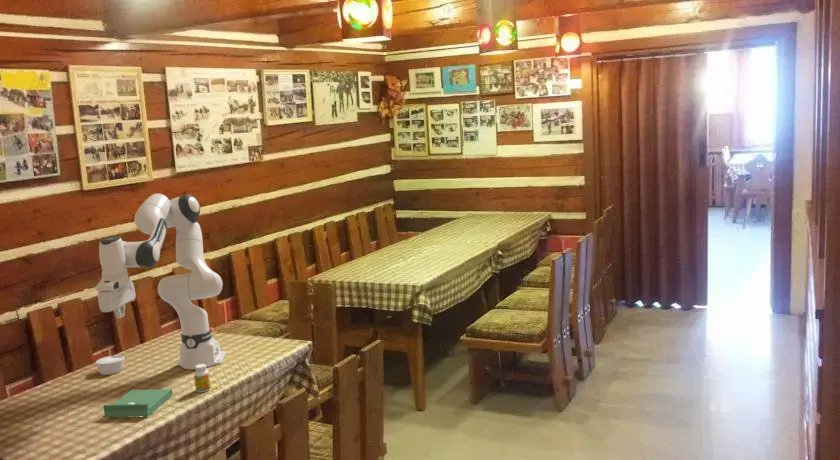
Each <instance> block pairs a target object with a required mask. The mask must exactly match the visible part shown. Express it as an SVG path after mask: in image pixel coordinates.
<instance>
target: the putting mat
mask: <svg viewBox="0 0 840 460" xmlns="http://www.w3.org/2000/svg"><path fill="white" fill-rule="evenodd" d="M172 395H174V394H173V389H171V388H169V389H168V388H167V389H166V388H165V389H163V388H161V389H130V390H129V391H128V392H127V393H126V394H124V395H123V396H122V397H120V398H119V399H118V400H117V401H115V402H114V403H113V404H103V413H104V418H106V417H127V418H132V417H131V416H134V417H133V418H136V417H135V416H138V417H137V418H140V417H139V416H143V417H142V418H148V417H147V416H149V415H150V414H151V413H152V412H153V411H154V412H156V411H157V410H158V409H159V408H160V407H161V406H162V405H164V404H165V403H166V402H167V401H168V400H170V399H171V398H172V397H173V396H172ZM171 396H172V397H171ZM165 401H166V402H165ZM131 402H132V403H135V404H128V403H131ZM164 402H165V403H164ZM163 403H164V404H163ZM161 404H162V405H161ZM160 405H161V406H160ZM159 406H160V407H159ZM158 407H159V408H158ZM157 408H158V409H157ZM156 409H157V410H156ZM155 410H156V411H155ZM154 412H153V413H154ZM153 413H152V414H153ZM152 414H151V415H152ZM151 415H150V416H151ZM129 416H130V417H129ZM150 416H149V417H150ZM106 419H107V418H106Z"/></svg>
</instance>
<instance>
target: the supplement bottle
mask: <svg viewBox="0 0 840 460" xmlns="http://www.w3.org/2000/svg"><path fill="white" fill-rule="evenodd" d="M194 370H195V371H194V372H193V373H194V374H193V376H194V383H195V384H194V385H195V391H196V392H197V393H205V392H209V391H210V390H211V383H210V382H211V380H210V371H209V369H207V367H206V365H205V364H199V365H196V366H195V369H194Z"/></svg>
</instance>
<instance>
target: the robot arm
mask: <svg viewBox="0 0 840 460" xmlns="http://www.w3.org/2000/svg"><path fill="white" fill-rule="evenodd" d="M200 211H201V204H200V202H199V200H198V199H197V198H196V197H195V196H194V195H192V194H184V195H182V194H181V196H178V197H174V198H172V199H169V198H168V197H167V196H166V195H165V194H162V193H153V194H151V195H150V196H148V197H147V198H146V199H145V200H144V201H143V202H142V204H141V205H140V206H139V208H138V209H137V210H136V212H135V215H134V224H135V226H136V228H138V230H139V231H140V232H142V233H143V234H146V235H149V238H148V239H147V240H146V239H145V240H142V241H125V240H123V239H122V237H121V236H116V235H113V236H107V237H104V238H103V239H101V240H100V241H99V246H98V248H99V249H98V253H99V254H98V256H99V262H100V265H101V279H100V281H99V282H98V283H97V284H96V286H95V290H96V292H97V301H98V306H99V311H101V312H102V313H110V312H114V314H115V319H119V320H120V319H123V318H124V317H125V316H126V315H125V310H126V304H128V303H130V302H131V301H133V300H135V299H136V296H137V295H136V289H135V284H134V282H133V281H132V279H131V277H130V276H129V272H128V271H129V270H128V268H145V269H146V268H148V269H149V268H150V269H151V268H153V267H155V266H156V265H157V264H158V263H159V261H160V257H161V250H162V248H163V244H164V242H165V238H166V235H167V231H168V230H169V229H171V228H175V230H176V233H175V234H176V235H175V260H176V263H177V264H178V265H179V266H180V267H182V268H184V269H186V270H189V271H191V272H190V273H181V274H172V275H169V276H166V277H163V278H161V279H160V281H159V282H158V285H157V292H158V295H159V297H160V298H161V300H163V301H165V302H166V303H168V304H169V305H170V306H172V308H173V309H174V310H175V311H176V312H177V316H178V318H179V323H180V330H181V333H180V340H181V344H180V345H179V361H178V362H177V366H180V367H181V368H182V369H185V370H195V366H196V365H199V364H205V365H206V368H209V367H212V366H216V365H221V364H222V363H223V360H224V358H225V357H226V354H227V351H226V350H221V344H220V342H219V341H218V340H217V339H215V338H214V337H213V335H212V333H214V328H213V327H210V325H209V317H208V312H207V311H206V309H204V308H202V307H200V306H197V305H195V304H194V303H192V301H193V300H194V301H195V300H203V299H209V298H213V297H216V296H219V295H220V294H221V292H222V290H223V285H224V283H223V280H222V277H221V275H219V274H218V273H217V272H215V271H214V270H212V269H211V268H210V267H209V266H208V264H207V262H206V260H205V254H204V241H203V240H204V239H203V233H202V229H201V226H200V223H198V220H199V218H200V213H201V212H200Z"/></svg>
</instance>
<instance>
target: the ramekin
mask: <svg viewBox="0 0 840 460" xmlns="http://www.w3.org/2000/svg"><path fill="white" fill-rule="evenodd" d="M125 359H126V358H125V356H123V355H108V356H104V357H101V358H99V359H97V360H96V361H95V365H96V367H97V370H98V373H99V374H100V375H104V376H108V375H109V376H110V375H115V374H118V373H120V372H123V370H124V368H125V361H126V360H125Z"/></svg>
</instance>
